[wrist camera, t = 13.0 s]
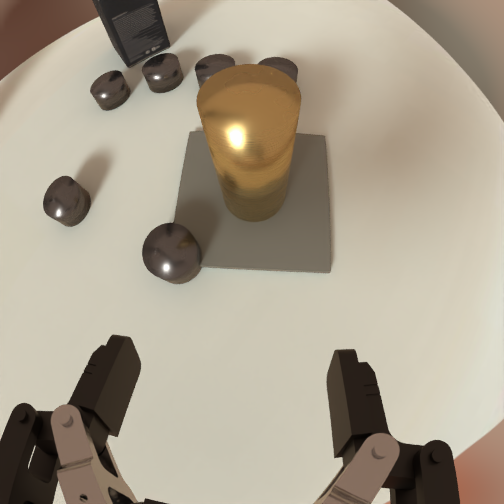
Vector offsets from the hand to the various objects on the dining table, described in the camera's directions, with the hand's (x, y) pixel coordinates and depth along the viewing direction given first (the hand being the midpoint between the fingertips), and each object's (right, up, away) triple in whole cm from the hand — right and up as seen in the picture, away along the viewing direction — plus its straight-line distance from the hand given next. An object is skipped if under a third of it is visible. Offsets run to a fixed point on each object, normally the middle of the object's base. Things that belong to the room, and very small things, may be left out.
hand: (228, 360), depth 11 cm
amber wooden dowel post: (+1, +8, +10) cm, 13 cm away
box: (-13, +29, +16) cm, 36 cm away
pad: (+1, +8, +11) cm, 14 cm away
